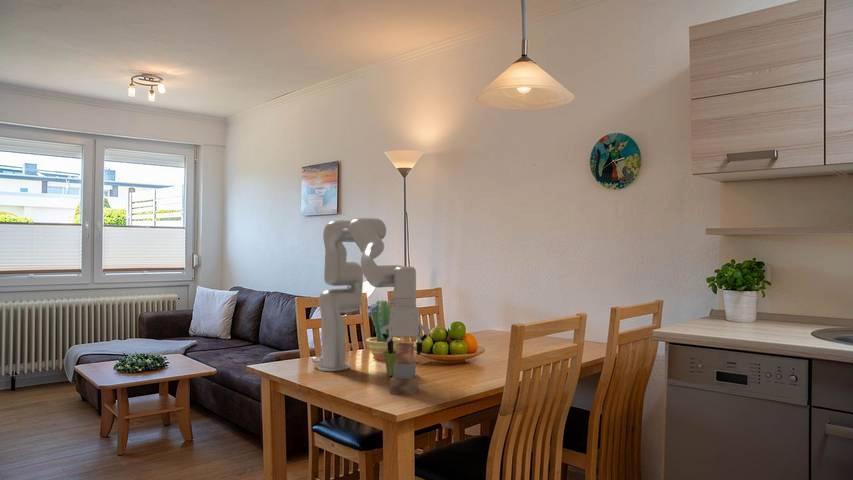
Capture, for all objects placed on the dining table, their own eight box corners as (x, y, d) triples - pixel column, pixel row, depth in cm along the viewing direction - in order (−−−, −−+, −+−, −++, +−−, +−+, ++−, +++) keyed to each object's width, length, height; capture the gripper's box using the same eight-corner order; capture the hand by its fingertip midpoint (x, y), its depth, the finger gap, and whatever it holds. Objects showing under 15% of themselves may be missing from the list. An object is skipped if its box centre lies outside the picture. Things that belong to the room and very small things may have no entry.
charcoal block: (393, 378, 196) (393, 363, 196) (398, 374, 201) (398, 360, 201) (410, 379, 194) (410, 364, 194) (415, 375, 200) (415, 360, 200)
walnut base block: (389, 394, 194) (389, 379, 194) (395, 388, 202) (395, 374, 202) (413, 395, 193) (413, 380, 193) (418, 389, 201) (418, 375, 201)
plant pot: (388, 378, 216) (388, 355, 216) (378, 373, 224) (378, 351, 224) (411, 376, 220) (411, 353, 220) (400, 371, 229) (400, 349, 229)
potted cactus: (370, 354, 265) (370, 298, 265) (403, 354, 263) (403, 299, 263) (361, 360, 250) (361, 302, 250) (397, 361, 247) (397, 302, 248)
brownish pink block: (395, 363, 196) (395, 345, 196) (399, 360, 201) (399, 342, 201) (410, 363, 195) (410, 345, 195) (413, 360, 200) (413, 343, 200)
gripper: (377, 303, 196) (377, 354, 196) (428, 304, 193) (428, 356, 193) (383, 301, 204) (383, 350, 203) (431, 302, 200) (432, 352, 200)
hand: (404, 353), depth 198 cm, fingers open, 9 cm apart
